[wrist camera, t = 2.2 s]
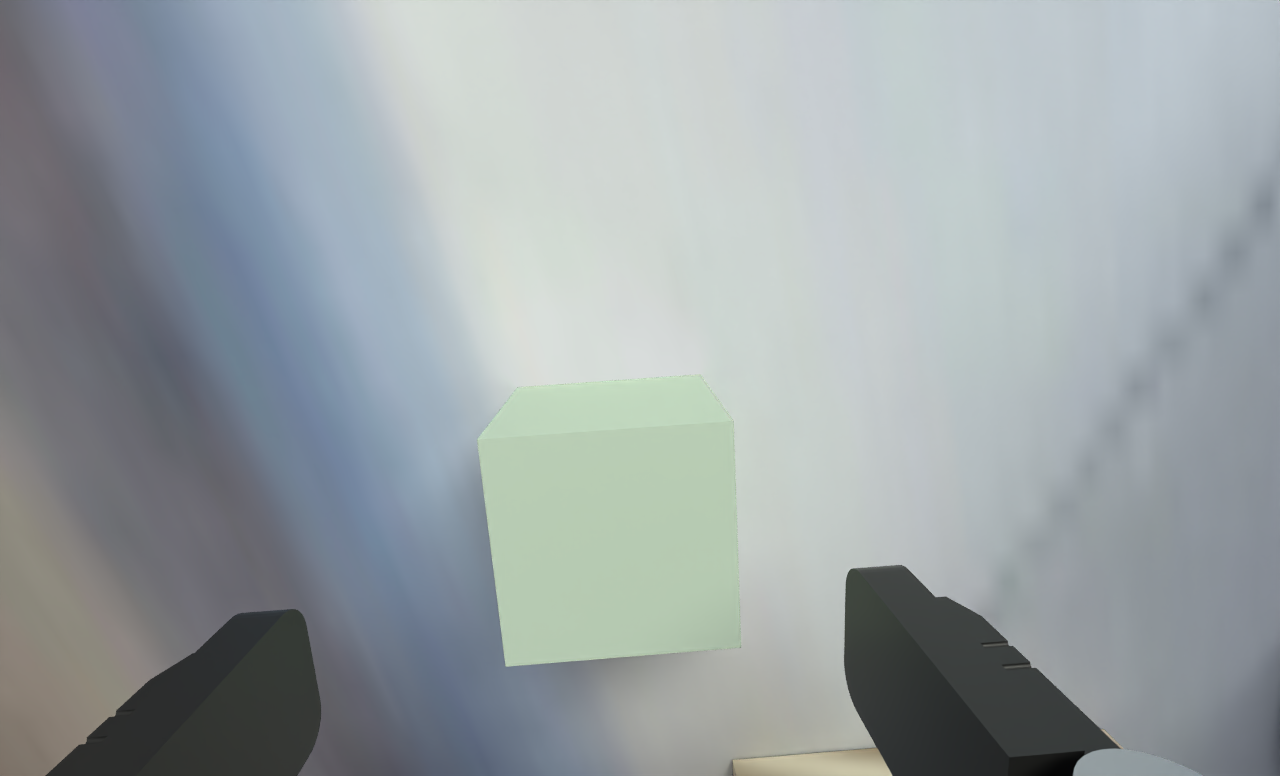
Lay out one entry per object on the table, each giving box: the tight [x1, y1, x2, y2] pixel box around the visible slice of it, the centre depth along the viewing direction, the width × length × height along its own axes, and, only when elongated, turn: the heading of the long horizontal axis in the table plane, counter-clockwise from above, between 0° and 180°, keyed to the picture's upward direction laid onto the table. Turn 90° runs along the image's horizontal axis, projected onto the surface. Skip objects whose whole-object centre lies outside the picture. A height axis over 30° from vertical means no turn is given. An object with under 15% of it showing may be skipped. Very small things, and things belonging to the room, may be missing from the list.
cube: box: [477, 374, 741, 667], centre depth 15 cm, size 5×5×5 cm
